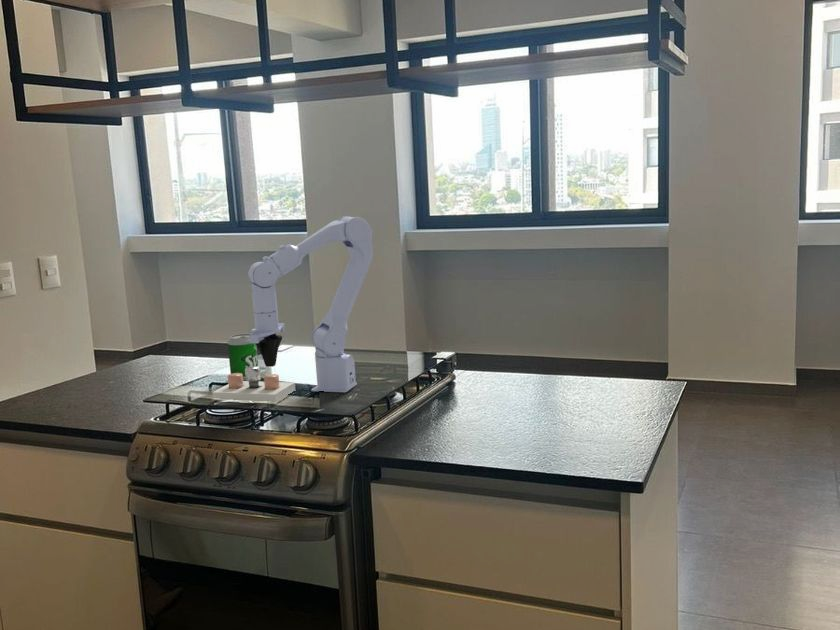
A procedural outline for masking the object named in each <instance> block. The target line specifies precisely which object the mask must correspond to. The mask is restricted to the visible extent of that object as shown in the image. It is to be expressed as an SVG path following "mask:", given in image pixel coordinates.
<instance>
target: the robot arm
mask: <svg viewBox="0 0 840 630" xmlns="http://www.w3.org/2000/svg"><path fill="white" fill-rule="evenodd" d="M373 234H374V233H373V230H372V228H371V226H370V224H369V222H368V221H367V220H366V219H365V218H363V217H360V216H350V215H344V216H341V217H339V218H338V219H337V220H336V219H335V220H333V221H331V222H330V223H328V224H326V225H325V226H323V227H321V228H320V229H319V230H317V231H316V232H314V233H312V234H311V235H310V236H309V237H307V238H306V239H304V240H302V241H301V242H299V243H298V244H297V245H293V244H287V245H285V244H282V245H280V246H278V248H279V249H278V250H277V251H275V252H274V253H272V254H271V255H269V256H267V255H265V256H263V257H262V261H256V262H254V263H253V264H251V265H250V268H248V271H247V272H248V273H247V275H246V276H247V279H248V280H249V282H250V283H251V292H252V293H251V298H252V308H253V317H254V318H253V320H254V328H252V329H251V333H250V334H251V335H249V338H250V343H255V344H256V347H257V348H258V349H257V350H259V352H260V354H261V357H262V360H263V363H264V365H265V367H271V368H272V367H275V366H276V364H277V357H278V351H279V347H280V344H281V342H282V341H283V336H282V335H278V334H279V333H280V332H285V331H286V329H285V323H280V322H279V312H278V300H277V293H276V292H277V291H276V285H275V284H276V283H277V280H278V278H282V277H283V276H285V275H287V273H289V272H291V271H293V270H294V269H296V268H297V267H299V266H300V265H302V264H303V259H304V257H305V256H308V255H309V254H311V253H313V252H315V251H316V250H318V249H320V248H321V247H323V246H326V244H328V243H331V242H341V243H343V244H344V245H345V247H346V249H347V251H348V253H349V255H350V258H349V261H348V263H347V265H346V268H345V270H344V273H343V275H342V278H341V280H340V282H339V285H338V288H337V290H336V292H335V295H334V297H333V300H332V301H331V304H330V307H329V310H328V312H327V314H326V315H325V316H324V317H323V318H322V319H321V321H320V323H319V325H317V326H316V327H315V329H314V330H313V331H312V333H311V337H310V338H311V342H312V343H311V344H312V345H313V346H314V347H315V348H316V349H315V352H314V359H315V361H314V362H315V372H316V386H314V387H313V388H311V392H319V391H324V392H323V393H326V392H327V393H328V392H329V393H347V392H349V391H350V390H351V389H353V388H354V387H356V386H357V384H358V383H357V381H356V365H355V363H356V362H355V358H354V356H353V355H352V354H347V353H345V352H344V350H345V347H346V341H347V340H346V339H347V338H346V336H347V334H348V329H349V328H348V320H349V317H350V314H351V313H352V310H353V307H354V305H355V302H356V300H357V297H358V295H359V293H360V290H361V288H362V286H363V283H364V281H365V278H366V276H367V274H368V271H369V268H370V266H371V264H372V261H373V257H374V249H373V241H372V237H373Z"/></svg>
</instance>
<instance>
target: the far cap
mask: <svg viewBox="0 0 840 630" xmlns="http://www.w3.org/2000/svg"><path fill="white" fill-rule="evenodd" d="M227 383H228V384H229V388H235V389H239V388H241V387H243V375H242V373H233V374H231V373H229V374H228V375H227Z"/></svg>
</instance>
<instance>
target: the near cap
mask: <svg viewBox="0 0 840 630" xmlns="http://www.w3.org/2000/svg"><path fill="white" fill-rule="evenodd" d="M263 382H264V385H265V389H266V390H276V389H278V388H279V387H280V386H279V382H280V375H279V374H277V373H271V374H266V375H264V376H263Z"/></svg>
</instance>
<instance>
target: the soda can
mask: <svg viewBox="0 0 840 630" xmlns="http://www.w3.org/2000/svg"><path fill="white" fill-rule="evenodd" d="M251 334H252V333H239V334H234V335H231V336H230V337H229V338H228V339H227V350H228V351H227V352H228V359H229V370H230V373H229V374H233V373H242V375H243V381H244V380H246V375H245V368H246V367H250V366H259V360H258V351H257V350H258V349H257V348H258V347H257V346H256V344H255V343H250V338H249V335H251Z"/></svg>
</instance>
